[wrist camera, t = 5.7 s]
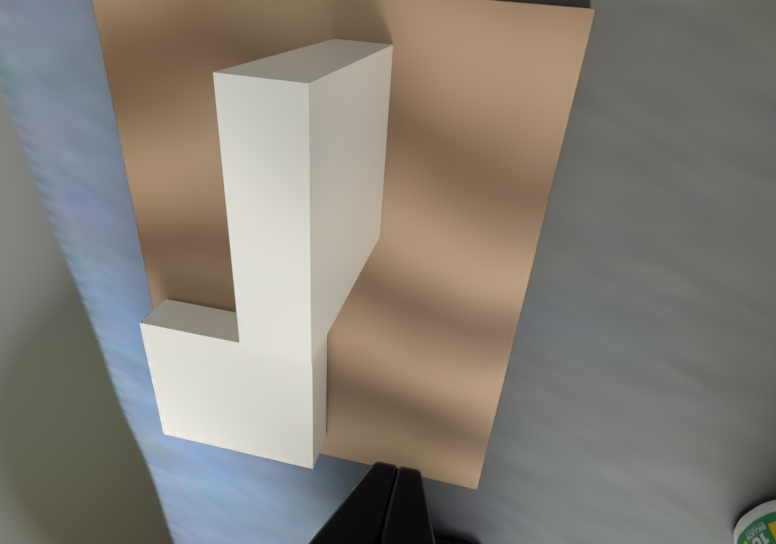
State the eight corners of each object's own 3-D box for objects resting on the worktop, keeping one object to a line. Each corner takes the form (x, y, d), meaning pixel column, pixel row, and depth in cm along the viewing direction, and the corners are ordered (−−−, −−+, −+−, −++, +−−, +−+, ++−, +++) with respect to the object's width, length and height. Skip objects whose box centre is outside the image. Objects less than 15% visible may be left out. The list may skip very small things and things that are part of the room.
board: (477, 473, 27) (476, 489, 26) (185, 407, 29) (175, 420, 28) (590, 8, 16) (595, 9, 15) (105, -33, 18) (85, -35, 17)
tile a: (312, 468, 24) (163, 434, 26) (326, 435, 26) (186, 404, 28) (312, 357, 21) (139, 322, 22) (328, 327, 23) (167, 297, 24)
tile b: (379, 236, 20) (311, 363, 13) (328, 228, 20) (235, 348, 13) (393, 44, 16) (308, 83, 10) (330, 38, 17) (206, 71, 10)
